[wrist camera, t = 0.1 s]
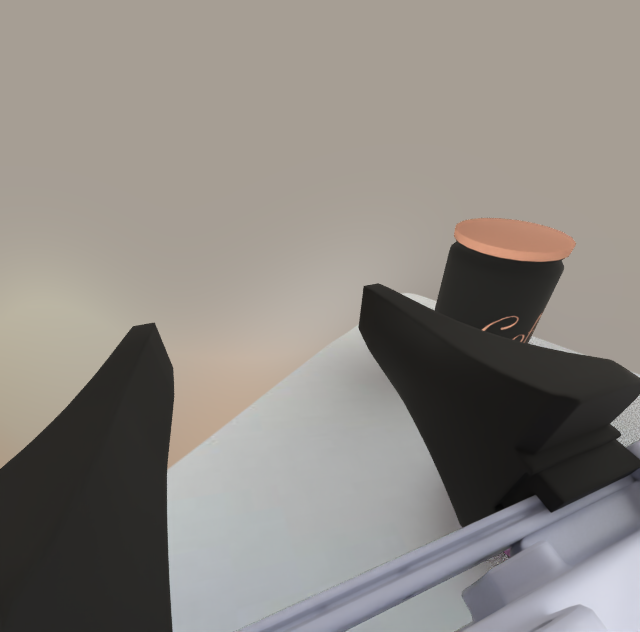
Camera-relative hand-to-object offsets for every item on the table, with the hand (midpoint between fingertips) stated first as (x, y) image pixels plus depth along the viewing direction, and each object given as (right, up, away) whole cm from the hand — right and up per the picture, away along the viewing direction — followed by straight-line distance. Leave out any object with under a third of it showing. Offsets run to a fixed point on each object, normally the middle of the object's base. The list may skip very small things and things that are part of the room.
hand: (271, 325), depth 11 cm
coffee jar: (+21, -6, +30) cm, 37 cm away
